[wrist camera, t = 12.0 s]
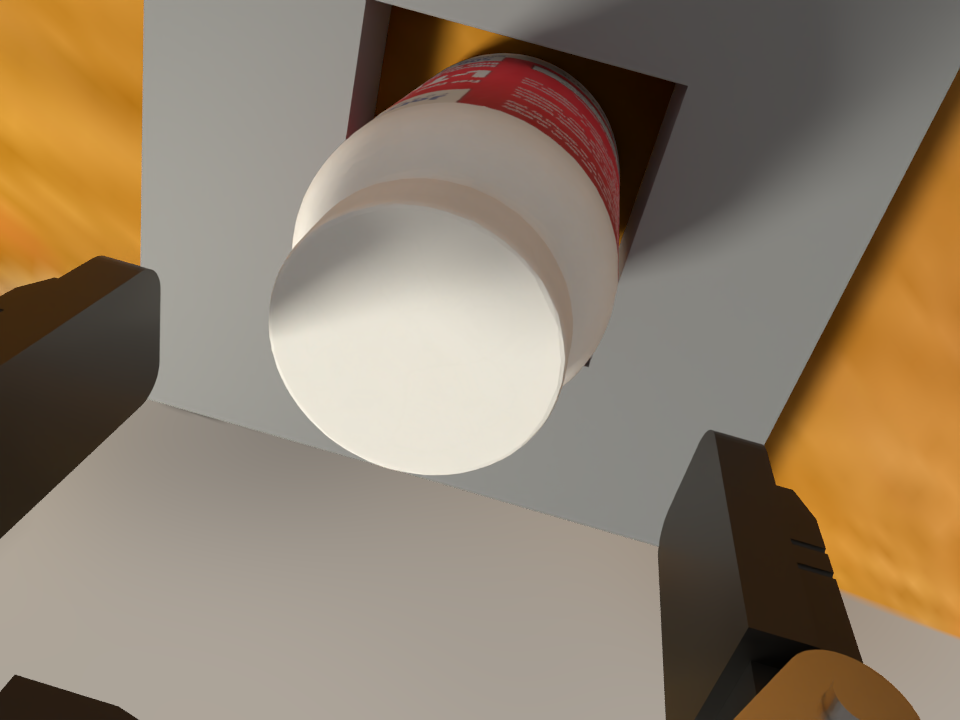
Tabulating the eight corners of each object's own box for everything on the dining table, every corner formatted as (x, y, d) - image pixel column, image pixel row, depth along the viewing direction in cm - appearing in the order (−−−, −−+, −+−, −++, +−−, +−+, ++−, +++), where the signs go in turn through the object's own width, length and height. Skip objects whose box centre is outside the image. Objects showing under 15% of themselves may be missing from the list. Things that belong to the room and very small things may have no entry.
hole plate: (1001, -115, 17) (1059, -124, 14) (696, 507, 25) (704, 559, 23) (208, -325, 17) (148, -364, 15) (178, 358, 26) (138, 396, 24)
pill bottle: (505, -5, 19) (393, 41, 10) (667, 171, 21) (711, 367, 11) (353, 168, 22) (146, 340, 12) (506, 314, 23) (427, 571, 14)
